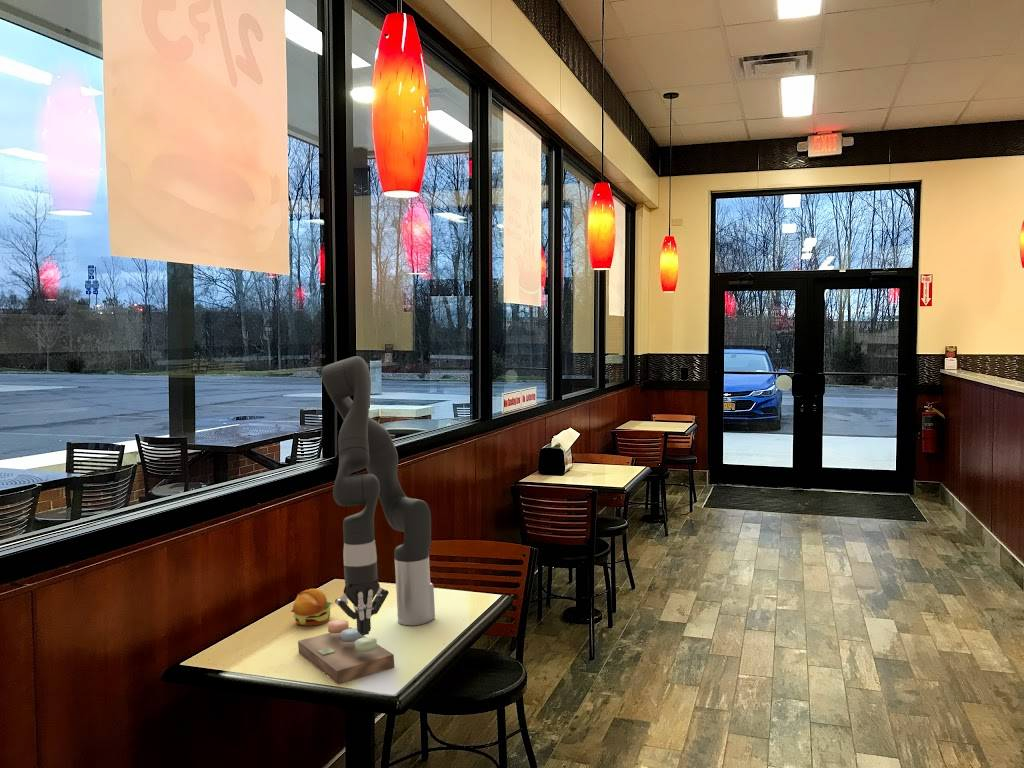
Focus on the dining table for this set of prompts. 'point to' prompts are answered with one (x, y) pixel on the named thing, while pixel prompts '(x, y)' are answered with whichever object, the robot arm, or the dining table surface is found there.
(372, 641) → the button sage
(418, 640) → the dining table surface
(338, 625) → the button terracotta
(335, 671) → the console
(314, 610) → the cheeseburger
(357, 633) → the button slate
